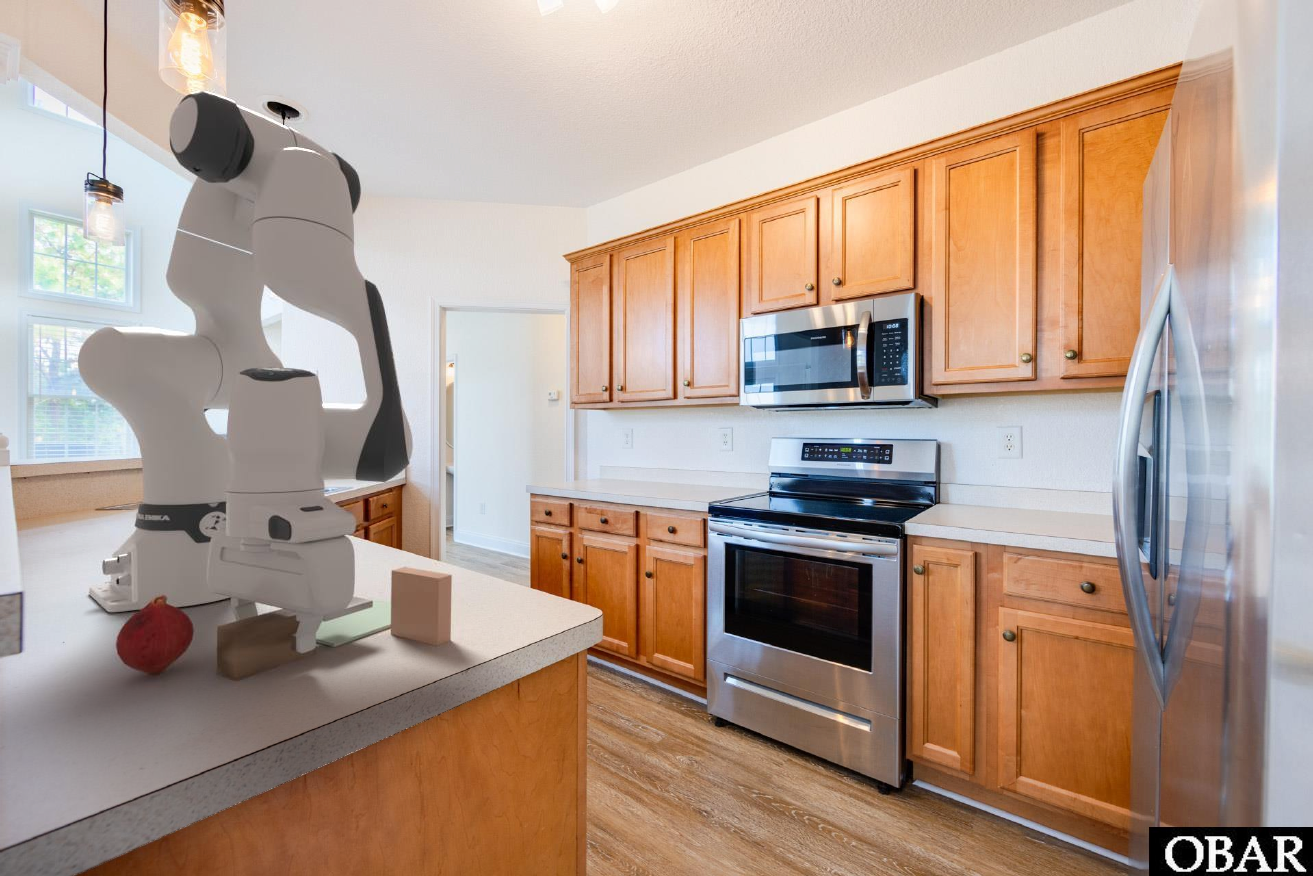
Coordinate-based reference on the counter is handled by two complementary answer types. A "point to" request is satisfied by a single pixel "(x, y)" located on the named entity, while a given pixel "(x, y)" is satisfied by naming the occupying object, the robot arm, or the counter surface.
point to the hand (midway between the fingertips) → (275, 643)
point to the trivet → (355, 624)
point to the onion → (154, 637)
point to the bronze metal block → (265, 641)
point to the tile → (421, 605)
